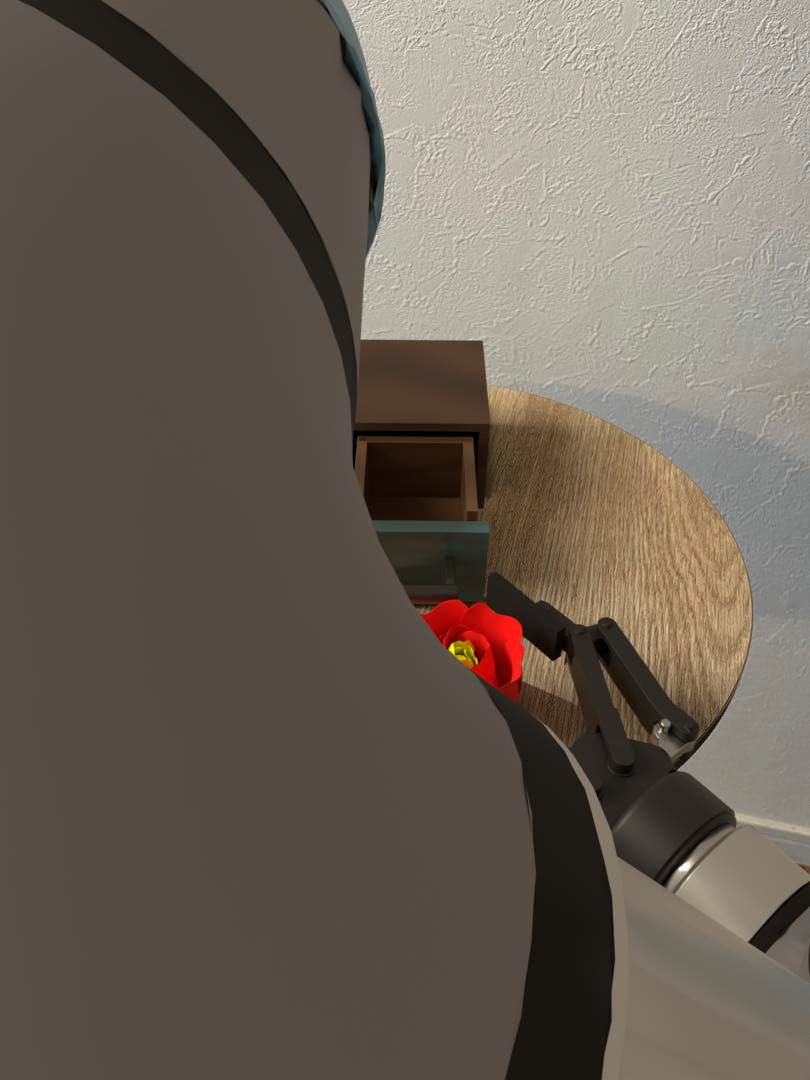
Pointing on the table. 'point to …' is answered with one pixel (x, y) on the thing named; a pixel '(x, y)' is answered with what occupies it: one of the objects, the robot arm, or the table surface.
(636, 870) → the robot arm
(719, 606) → the table surface
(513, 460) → the table surface
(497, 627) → the flower
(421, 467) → the drawer
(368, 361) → the cabinet
